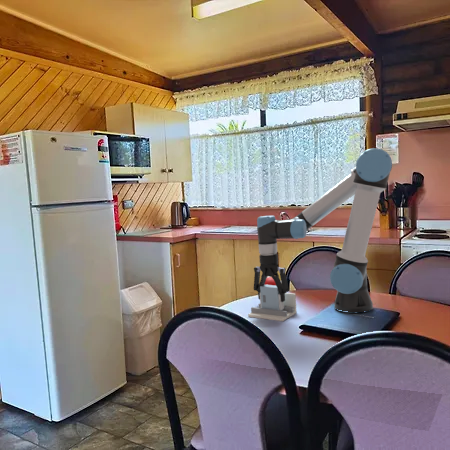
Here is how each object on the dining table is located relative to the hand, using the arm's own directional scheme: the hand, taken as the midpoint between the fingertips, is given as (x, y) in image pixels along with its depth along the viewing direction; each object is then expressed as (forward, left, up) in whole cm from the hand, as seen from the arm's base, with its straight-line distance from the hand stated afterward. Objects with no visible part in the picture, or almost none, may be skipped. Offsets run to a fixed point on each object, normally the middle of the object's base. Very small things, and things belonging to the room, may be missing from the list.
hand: (272, 308), depth 171 cm
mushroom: (+9, -15, -3) cm, 18 cm away
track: (0, 0, -3) cm, 3 cm away
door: (0, 0, -1) cm, 1 cm away
